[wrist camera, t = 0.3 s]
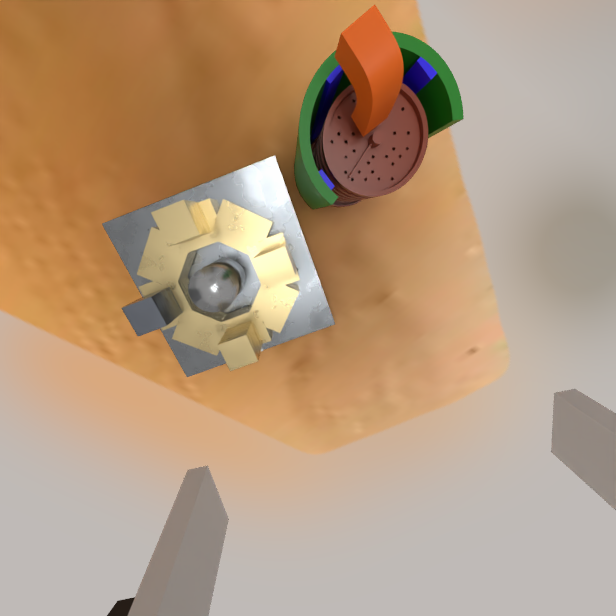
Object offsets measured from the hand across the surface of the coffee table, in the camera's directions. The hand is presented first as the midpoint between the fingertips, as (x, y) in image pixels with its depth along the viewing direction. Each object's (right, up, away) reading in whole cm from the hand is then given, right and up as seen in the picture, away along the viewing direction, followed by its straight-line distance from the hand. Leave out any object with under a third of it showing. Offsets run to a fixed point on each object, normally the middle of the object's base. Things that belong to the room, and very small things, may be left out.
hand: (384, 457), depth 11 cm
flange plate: (-12, +10, +24) cm, 29 cm away
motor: (0, +21, +22) cm, 31 cm away
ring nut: (-12, +9, +23) cm, 27 cm away
